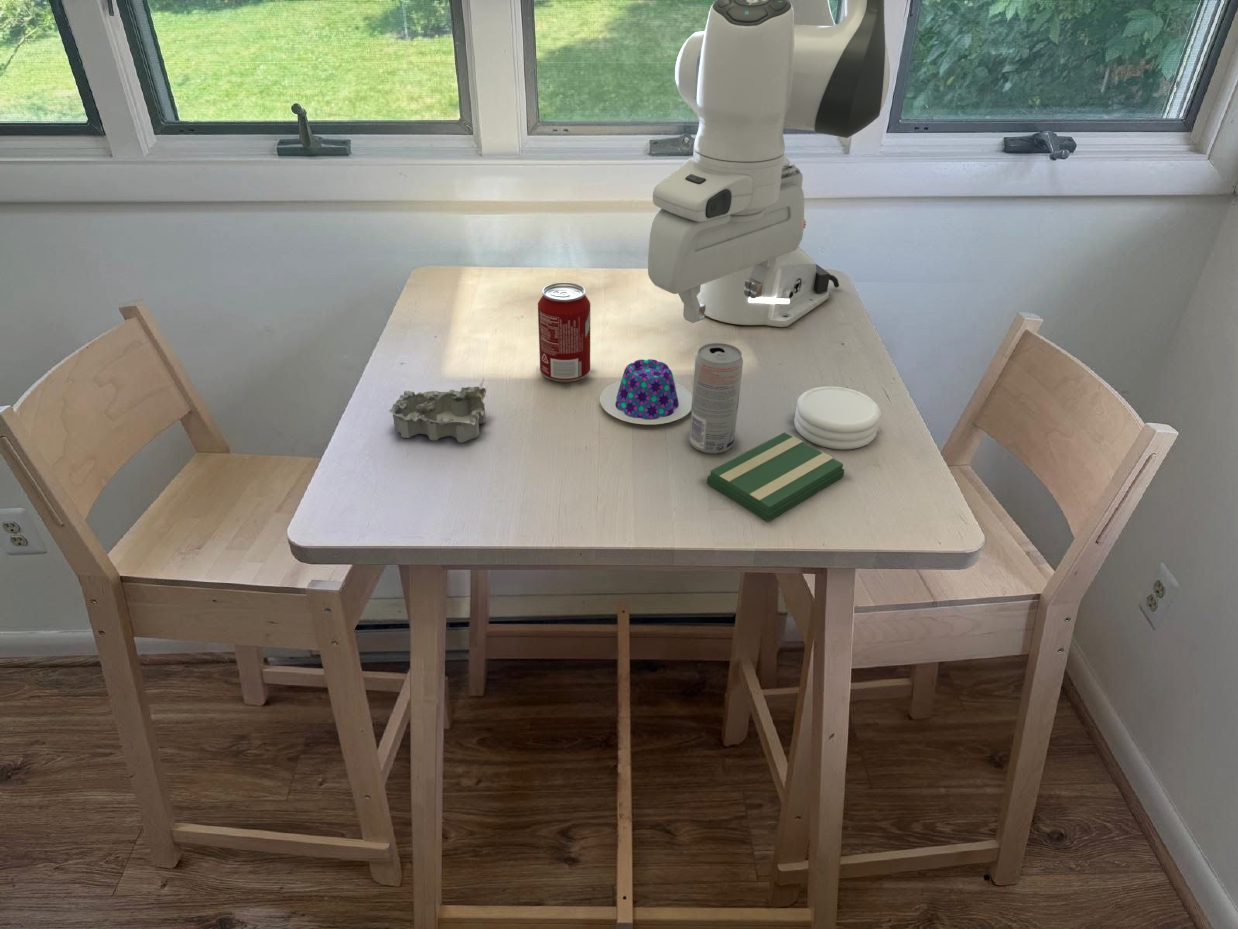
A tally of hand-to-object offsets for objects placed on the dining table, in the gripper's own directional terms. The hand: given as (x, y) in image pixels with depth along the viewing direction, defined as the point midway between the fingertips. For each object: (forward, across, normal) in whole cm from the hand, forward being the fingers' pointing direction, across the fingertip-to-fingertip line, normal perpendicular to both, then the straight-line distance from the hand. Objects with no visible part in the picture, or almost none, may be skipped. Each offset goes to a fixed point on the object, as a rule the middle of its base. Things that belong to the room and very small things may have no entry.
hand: (724, 307), depth 94 cm
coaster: (+18, -14, +8) cm, 24 cm away
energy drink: (+18, 0, 0) cm, 18 cm away
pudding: (+18, 0, -11) cm, 21 cm away
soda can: (+18, +4, -24) cm, 30 cm away
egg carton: (+17, +24, -23) cm, 37 cm away
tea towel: (+17, 0, +10) cm, 20 cm away
